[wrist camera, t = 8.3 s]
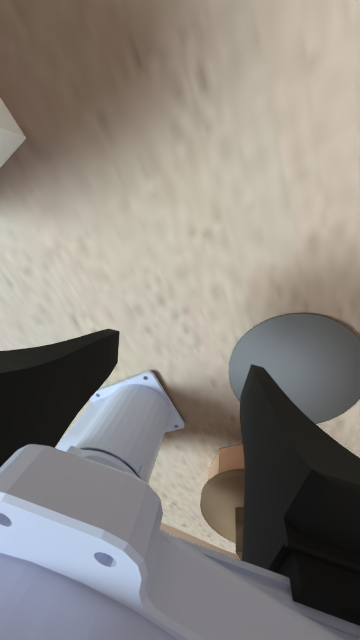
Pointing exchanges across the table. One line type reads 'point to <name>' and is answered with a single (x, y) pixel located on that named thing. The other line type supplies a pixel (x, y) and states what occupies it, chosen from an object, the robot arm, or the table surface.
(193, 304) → the table surface
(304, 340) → the mat
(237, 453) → the bowl
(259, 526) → the robot arm
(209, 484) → the lid
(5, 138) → the milk
